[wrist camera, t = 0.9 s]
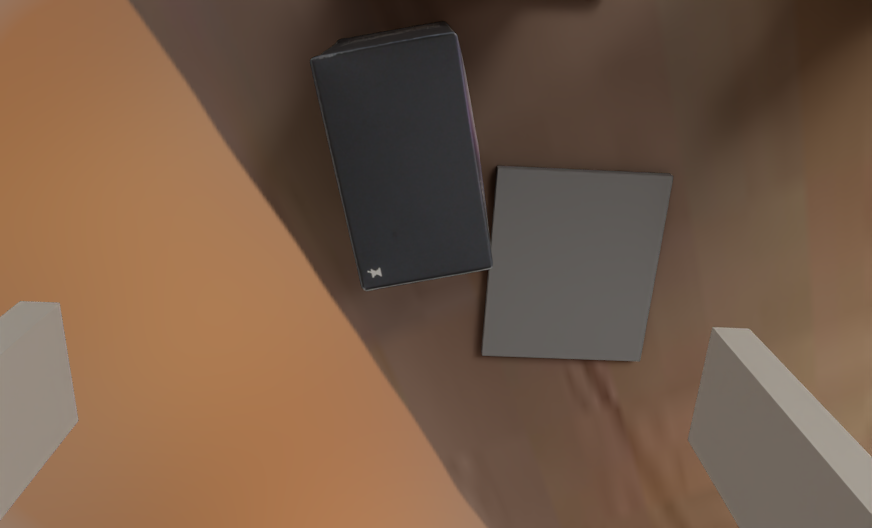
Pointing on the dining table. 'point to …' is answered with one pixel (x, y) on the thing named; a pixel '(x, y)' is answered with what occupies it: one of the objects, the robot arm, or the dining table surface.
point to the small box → (405, 154)
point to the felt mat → (573, 262)
